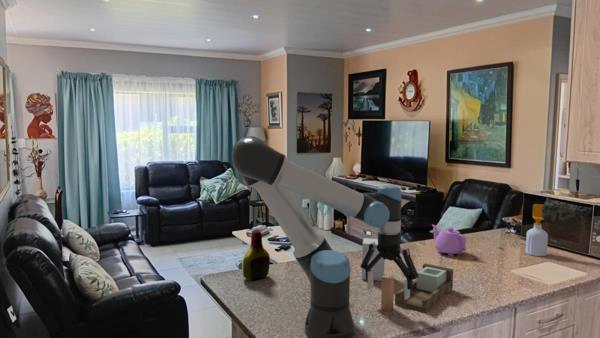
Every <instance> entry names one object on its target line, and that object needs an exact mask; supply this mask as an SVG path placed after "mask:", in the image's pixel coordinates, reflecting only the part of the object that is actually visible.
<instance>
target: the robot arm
mask: <svg viewBox="0 0 600 338" xmlns="http://www.w3.org/2000/svg"><path fill="white" fill-rule="evenodd" d="M230 156H231V162H232V164H233V167H234V169H235V170H236V171H237V172H238V174H240V176H241V177H242V178H243V180H244V182H245V183H246V185H247V186H248V187H250V188H254V189H255V190H256V192H257V193H258V194H259V196H260V198H261V199H262V201H263V202H264V204H265V205H266V207H267V208H268V210H269V212H271V214H272V216H273V217H274V219H275V220H276V222H277V223H278V226H279V227H280V228H281V230H282V231H283V233H284V234H285V235H286V238H287V239H288V240H289V242H290V243H291V245H292V247H293V248H294V251H293V257H294V258H295V260H296V261H297V263H298V265H299V266H300V268H301V269H302V271H303V272H304V274H305V276H306V277H307V279H308V282H309V283H310V305H309V306H310V307H309V310H308V312H307V315H306V318H305V321H304V333H305V335H306V336H307V337H308V338H353V337H354V335H355V334H356V333H355V332H356V331H355V327H356V326H355V325H356V324H355V322H354V319H353V315H352V312H351V309H350V293H351V292H350V291H351V289H350V286H351V263H350V259H349V257H348V256H347V255H346V254H344V253H342V252H339V251H338V250H337V251H336V250H334V249H332V247H331V246H330V244H329V242H328V240H327V239H326V237H325V236H324V235H323V234H318V233H317V232H316V230H315V229H314V228H313V225H312V224H311V222H310V221H309V219H308V218H307V216H306V215H305V212H303V210H302V209H301V207H300V205H299V203H298V202H297V200H296V199H295V198H294V196H293V194H292V193H291V191H293V192H294V193H297V194H299V195H302V196H304V197H306V198H308V199H310V200H313V201H314V202H317V203H320V204H322V205H324V206H327V207H329V208H331V209H334V210H336V211H338V212H341V213H343V215H344V216H345V217H352V218H354V219H357V220H358V221H361V222H363V223H365V224H367V226H370V227H373V228H376V229H377V231H378V232H377V239H378V245H377V244H375V243H374V242H373V243H371V244H369V250H368V252H367V254H366V256H365V258H364V260H363V262H362V261H361V264H360V268H361V269H362V268H364V269H365V270H366V279H367V280H366V281H367V290H368V291H371V290H372V289H374V280H373V271H374V270H371V269H372V267H373V266H374V265H375V264H376V263H377V262H378V261H379V260H380V259H381V258H383V259H385V260H388V261H393V262H394V263H395V264H396V265H397V267H398V268H399V270H400V271H401V273H402V274H403V276H404V277H405V279H404V287H403V288H404V299H406V300H407V299H408V298H409V297H410V289H412V287H413V281H414V280H416V279H417V278H418V277H419V275H418V273H417V272H418V271H417V269H416V267H415V266H416V265H415V264H414V262H413V258H412V256H411V252H410V248H401V243H402V242H401V241H402V240H401V233H400V232H401V231H402V229H401V228H402V227H401V223H402V222H401V221H402V220H401V219H402V218H401V217H402V212H401V211H402V202H403V201H402V190H401V188H400V187H399V186H397V185H391V184H390V185H388V184H387V185H379V186H378V190H377V191H376V192H359V191H357V190H355V189H353V188H350V187H349V186H346V185H343V184H342V183H339V182H338V181H336V180H335V181H334V180H333V179H330V178H328V177H325V176H324V175H322V174H320V173H317V172H316V171H315V172H314V171H313V170H310V169H308V168H306V167H304V166H302V165H299V164H297V163H294V162H293V161H290V160H289V159H288V158H287V155H286V154H284V153H281V152H280V151H277V150H276V149H274V148H272V147H271V146H270V145H268V144H267V143H266V142H264V141H263V140H262V139H261V138H259V137H257V136H245V137H243V138H240V139H239V140H238V141H237V142H235V144H234V145H233V147H232V149H231V154H230ZM376 248H377V250H378V252H379V254H378V255H377V256H376V257H375V258H374V259H373V260H372V261H371V263H370V264H369V265H367V264H368V262H369V260H370V259H371V257H372V255H373V253H374V251H375V250H376ZM402 256H403V258H402ZM404 261H405V262H404Z"/></svg>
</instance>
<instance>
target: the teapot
mask: <svg viewBox="0 0 600 338" xmlns="http://www.w3.org/2000/svg"><path fill="white" fill-rule="evenodd" d="M431 226H432V227H433V239H434V248H435V249H436V251H437V254H441V253H442V254H447V256H448V257H451V258H452V257H454V255H455V254H456V255H459V254H460V255H462V253H463V252H466V251H467V247H466V243H467V238H466V237H465V235H463V234H462V233H461V232H460V231H458V230H456V229H455V228H454V227H447V229H441V231H440V232H439V230H438V226H436V225H435V224H431ZM454 229H455V230H454Z"/></svg>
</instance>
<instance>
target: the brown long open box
mask: <svg viewBox="0 0 600 338" xmlns="http://www.w3.org/2000/svg"><path fill="white" fill-rule="evenodd" d="M425 267H431V268H436V269H441V270H445V271H447V272H446V282H445V283H444V284H442V285H441V286H440V287H439V288H437V289H436V290H435V291H433V292H429V291H425V290H421V289H417V288H416V287H417V278H416V279H415V280H413V287H412V289H410V297H409V298H408V299H407V300H406V299H404V287H403V288H401V289H399V290H398V291H396V292H395V293H394V304H395V305H396V306H401V307H403V308H407V309H411V310H415V311H418V312H422V313H427V312H428V311H429V310H430V309H432V308H433V307H434V306H435V305H436V304H438V303H439V302H440V301H441V300H442V299H444V298H445V297H446V296H447V295H448V294H449V293H451V292H452V291H453V281H454V280H453V279H454V269H453V268H449V267H448V268H447V267H444V266H443V267H442V266H438V265H434V264H429V263H424V264H422V269H423V268H425Z"/></svg>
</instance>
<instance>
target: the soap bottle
mask: <svg viewBox="0 0 600 338" xmlns="http://www.w3.org/2000/svg"><path fill="white" fill-rule="evenodd" d="M544 206H545V204H543V203H541V204H539V203H534V204H533V205H532V218H533V219H534V220H535V222H533V227H532V228H529V230H527V231H526V239H525V253H526V254H527V255H529V256H534V257H545V256H547V254H548V239H549V234H548V232H547V231H545V230H544V229H543V228H542V223H541V222H542V220H543V221H544V217H543V207H544Z"/></svg>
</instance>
